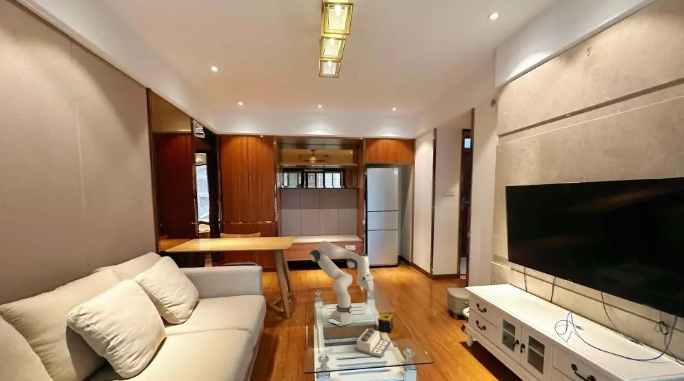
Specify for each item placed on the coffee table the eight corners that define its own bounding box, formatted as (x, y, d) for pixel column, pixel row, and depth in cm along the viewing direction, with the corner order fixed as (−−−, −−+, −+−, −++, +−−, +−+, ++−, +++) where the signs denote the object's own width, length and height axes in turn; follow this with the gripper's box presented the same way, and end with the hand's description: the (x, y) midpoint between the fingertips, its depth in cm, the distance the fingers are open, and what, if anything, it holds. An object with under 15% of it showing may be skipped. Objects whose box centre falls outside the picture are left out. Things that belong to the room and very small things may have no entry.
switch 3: (365, 342, 183) (364, 333, 183) (367, 339, 186) (366, 331, 186) (370, 343, 181) (369, 334, 181) (372, 340, 184) (371, 332, 184)
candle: (378, 332, 201) (377, 319, 201) (381, 325, 210) (380, 313, 211) (391, 333, 197) (390, 320, 197) (393, 327, 207) (392, 314, 207)
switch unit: (354, 350, 179) (353, 340, 179) (365, 336, 195) (365, 327, 195) (380, 358, 169) (380, 347, 169) (390, 342, 185) (390, 333, 185)
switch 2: (368, 338, 188) (368, 329, 188) (370, 335, 191) (370, 327, 191) (373, 339, 186) (372, 330, 186) (375, 336, 189) (374, 328, 189)
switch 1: (361, 346, 178) (361, 337, 178) (364, 343, 181) (363, 335, 181) (366, 347, 176) (366, 338, 176) (368, 344, 179) (368, 336, 180)
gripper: (354, 272, 201) (355, 290, 200) (366, 279, 182) (368, 298, 181) (361, 270, 203) (362, 288, 203) (374, 277, 184) (375, 296, 184)
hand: (365, 293), depth 192 cm, fingers open, 8 cm apart
